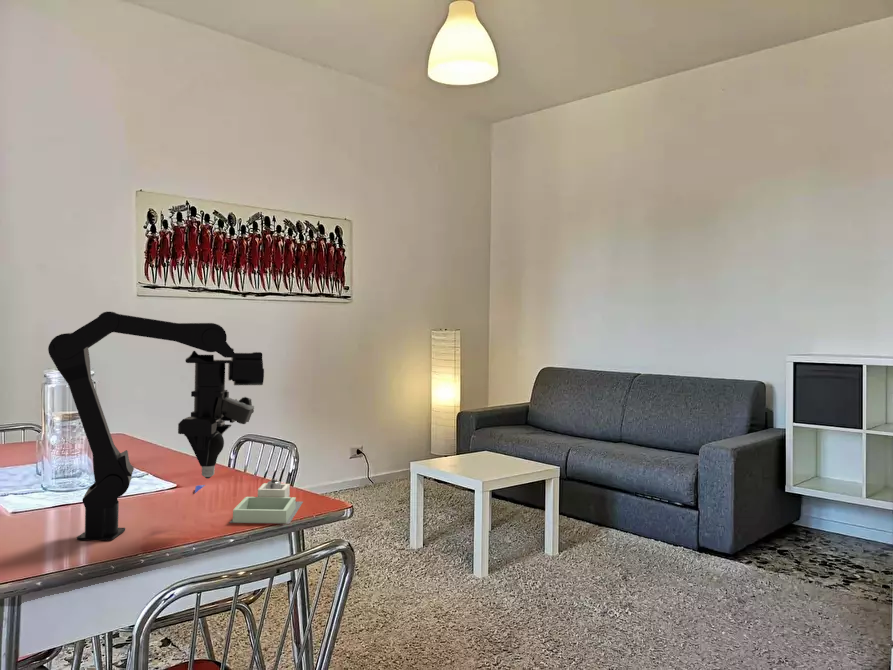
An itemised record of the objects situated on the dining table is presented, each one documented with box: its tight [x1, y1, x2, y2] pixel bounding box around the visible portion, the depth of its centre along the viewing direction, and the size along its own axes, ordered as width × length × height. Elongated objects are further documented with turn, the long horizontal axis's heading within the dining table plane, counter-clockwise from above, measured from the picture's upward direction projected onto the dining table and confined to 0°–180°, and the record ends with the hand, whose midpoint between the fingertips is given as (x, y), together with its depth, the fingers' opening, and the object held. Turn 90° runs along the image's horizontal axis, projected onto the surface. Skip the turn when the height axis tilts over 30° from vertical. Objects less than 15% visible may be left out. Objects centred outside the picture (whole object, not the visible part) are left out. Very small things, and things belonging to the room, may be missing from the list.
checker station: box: [228, 482, 304, 525], centre depth 147 cm, size 17×12×5 cm
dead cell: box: [267, 478, 282, 489], centre depth 152 cm, size 3×3×6 cm
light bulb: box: [201, 430, 225, 479], centre depth 138 cm, size 6×6×10 cm
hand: (207, 463), depth 138 cm, fingers closed on light bulb, 5 cm apart
